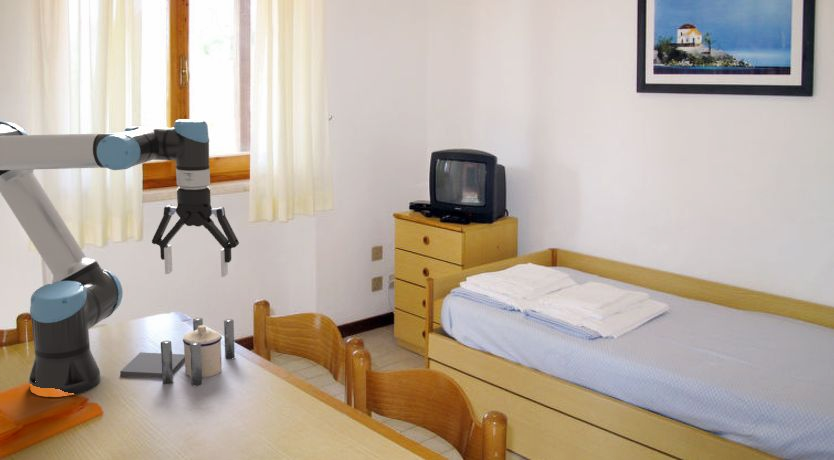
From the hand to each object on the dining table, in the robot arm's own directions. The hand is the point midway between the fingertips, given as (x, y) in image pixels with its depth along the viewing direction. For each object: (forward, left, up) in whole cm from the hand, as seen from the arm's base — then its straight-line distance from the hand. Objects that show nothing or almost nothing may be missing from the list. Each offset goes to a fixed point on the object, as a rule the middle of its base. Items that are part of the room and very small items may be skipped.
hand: (196, 274), depth 188 cm
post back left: (-3, +8, -25) cm, 26 cm away
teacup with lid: (0, 0, -25) cm, 25 cm away
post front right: (+2, -8, -25) cm, 26 cm away
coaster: (-12, 0, -25) cm, 27 cm away
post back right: (+5, +8, -25) cm, 26 cm away
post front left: (-5, -8, -25) cm, 26 cm away
